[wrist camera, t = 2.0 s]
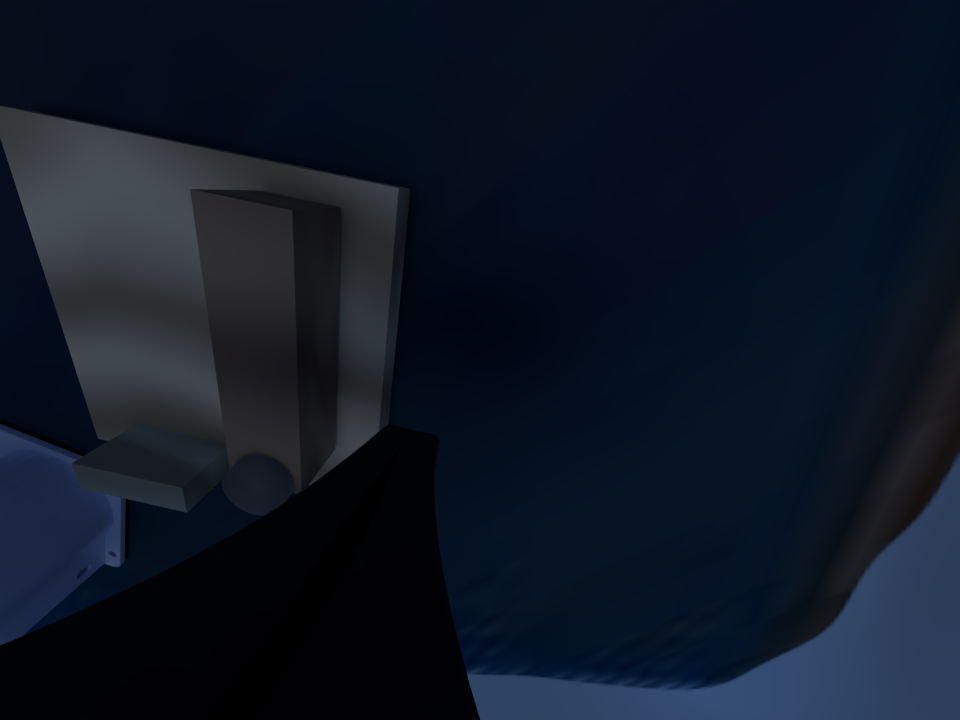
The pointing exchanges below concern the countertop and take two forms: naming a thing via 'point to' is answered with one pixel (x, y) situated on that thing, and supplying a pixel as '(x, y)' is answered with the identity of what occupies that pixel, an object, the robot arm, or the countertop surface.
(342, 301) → the stool seat
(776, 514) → the countertop surface
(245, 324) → the stool leg
